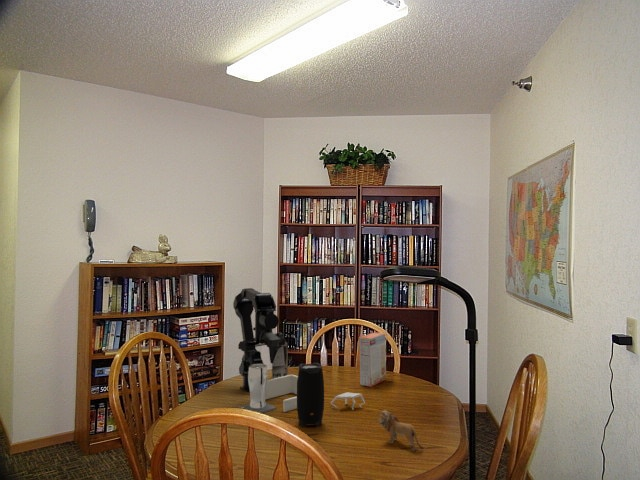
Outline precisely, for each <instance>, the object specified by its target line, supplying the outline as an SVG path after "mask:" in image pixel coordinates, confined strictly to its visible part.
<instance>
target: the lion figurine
mask: <svg viewBox="0 0 640 480" xmlns="http://www.w3.org/2000/svg"><path fill="white" fill-rule="evenodd" d="M377 420H378V422H379V425H380V426H382V428H384V429H385V431H386V432H389V437H390V440H388V443H389V444H393V443H394V442H395V441H396V440H397V438H398V435H399V436H405V437H406V439H407V441H408V442H409V443H408V445H409V446H411V452H415V451H416V447H417V446H418V447H419V448H420V450H424V449H425V448H424V447H423V446H422V445H420V443H419V440H418V436H417V432H416V430H415V427H414V425H412V424H410V423H405V422H404V423H403V422H401V421H400V420H399V418H398V417H397V416H396V415H394V414H393V413H392V412H390V411H389V410H382V411H380V414H379V418H378V419H377ZM416 444H417V446H416Z"/></svg>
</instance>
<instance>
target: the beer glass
mask: <svg viewBox="0 0 640 480" xmlns="http://www.w3.org/2000/svg"><path fill="white" fill-rule="evenodd" d="M267 380H268V365H267V364H265V363H263V364H252V365H249V372H248V383H249V390H250V391H249V395H250V397H249V398H250V401H249V404H250V405H249V408H251V409H255V410H258V409H263V408H265V407H266V404H267V403H266V399H265V391H266V386H267Z"/></svg>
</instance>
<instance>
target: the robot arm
mask: <svg viewBox="0 0 640 480" xmlns="http://www.w3.org/2000/svg"><path fill="white" fill-rule="evenodd" d="M232 305H233V306H232V308H233V309H234V312H235V315H236V317H238V319H240V327H241V335H242V341H239V343H238V347H237V348H238V350H240V351H242V352H243V355H242V357H241V361H240V365H239V368H238V373H239V375H240V376H242V381H243V382H242V384H243V385H242V386H240V387H239V389H241V390H244V391H245V392H250V390H249V383H248V372H249V365H252V364H264V361H263V359H262V353H261V351H259V350H257V349H256V348H257V347H263V346H266V347H267V348H268V352H269V353H268V354H269V362H270V364H273V362H274V359H275V356H276V353H277V351H278V350H279V349H280V348H281V347H282V345H285V342H286V339H285V337H283V333H282V332H276V333H274V332H273V330H274V329H276V328H277V327H278V325H279V321H280V319H279V317H278V316H277V315H276V314H275V312H276V311H277V309H276V308H277V305H276V302H275V299H274V297H273V295H272V293H271V292H260V291H258V290H255V289H254V288H253V287H252V288H251V287H250V288H242V289H241V291H240V293H238V294H237V295H235V298H234V300H233V303H232ZM253 311H254V313H255V314H254V327H253V322H252V314H253Z"/></svg>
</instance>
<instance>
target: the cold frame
mask: <svg viewBox="0 0 640 480" xmlns="http://www.w3.org/2000/svg"><path fill="white" fill-rule="evenodd" d="M297 379H298V375H296V374H295V375H294V374H292V373H291V374H288V375H287V376H283V377H278V378H274V379H272V378H270V379H267V386H266V391H265V400H268V399H272V398H275V397H281V396H284V395H288V394H295V395H296V396H293V397H290V398H285V399H283V400H282V412H284V413H286V412H290V411H293V410H296V409H297Z"/></svg>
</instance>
